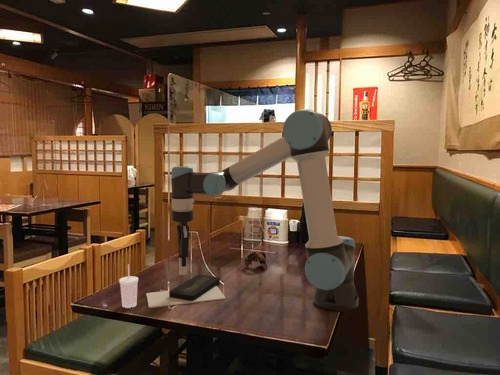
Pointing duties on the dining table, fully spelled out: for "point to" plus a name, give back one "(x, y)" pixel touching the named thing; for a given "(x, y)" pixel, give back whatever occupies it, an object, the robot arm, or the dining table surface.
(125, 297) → the beverage cup
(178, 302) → the beige mat
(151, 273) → the dining table surface
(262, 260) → the pottery mug
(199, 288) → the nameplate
